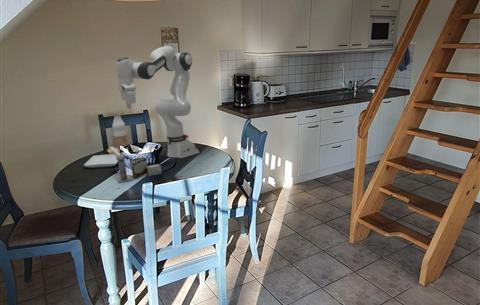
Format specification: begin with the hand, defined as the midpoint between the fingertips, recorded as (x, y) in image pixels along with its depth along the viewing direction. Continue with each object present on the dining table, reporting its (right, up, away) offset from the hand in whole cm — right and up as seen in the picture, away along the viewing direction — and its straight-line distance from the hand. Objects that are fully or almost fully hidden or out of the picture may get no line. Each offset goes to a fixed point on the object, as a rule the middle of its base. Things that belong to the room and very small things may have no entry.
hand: (129, 108), depth 224 cm
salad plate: (-24, -34, +26) cm, 49 cm away
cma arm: (-7, -28, -1) cm, 29 cm away
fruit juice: (-21, -25, +52) cm, 61 cm away
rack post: (-2, -43, -5) cm, 43 cm away
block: (+14, -40, +3) cm, 42 cm away
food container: (+5, -41, +1) cm, 41 cm away
